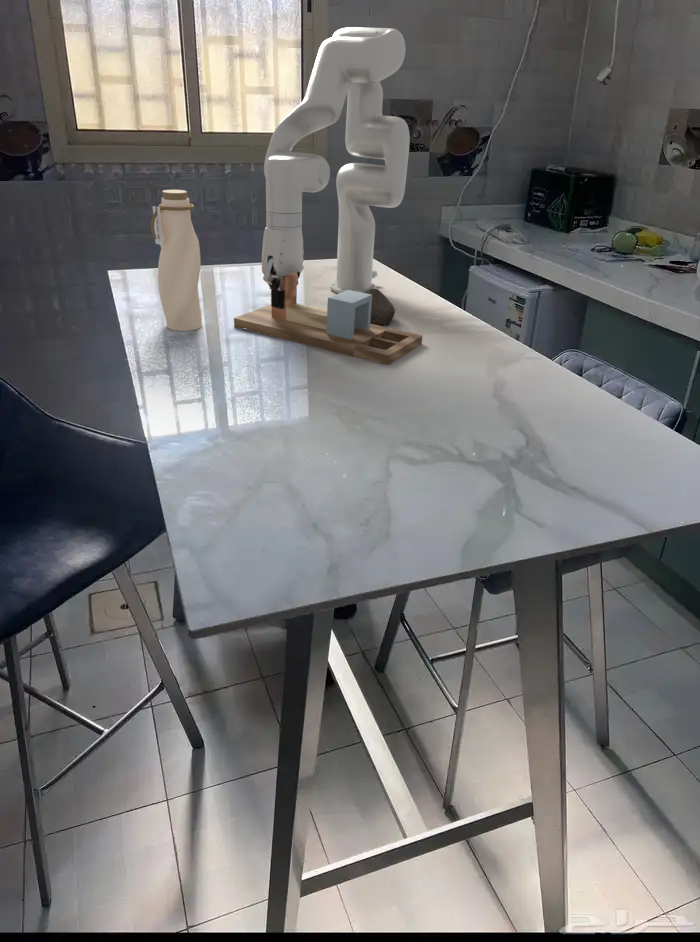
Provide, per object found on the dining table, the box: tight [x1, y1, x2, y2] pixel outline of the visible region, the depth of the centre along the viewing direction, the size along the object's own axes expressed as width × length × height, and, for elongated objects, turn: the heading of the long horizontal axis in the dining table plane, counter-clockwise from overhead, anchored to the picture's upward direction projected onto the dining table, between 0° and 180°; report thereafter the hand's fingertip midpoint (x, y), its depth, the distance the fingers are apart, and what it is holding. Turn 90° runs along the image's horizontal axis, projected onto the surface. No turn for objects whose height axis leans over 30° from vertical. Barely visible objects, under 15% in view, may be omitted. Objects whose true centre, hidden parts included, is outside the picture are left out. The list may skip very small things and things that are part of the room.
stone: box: [363, 288, 396, 327], centre depth 162 cm, size 10×8×10 cm
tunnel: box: [326, 290, 372, 339], centre depth 146 cm, size 8×6×8 cm
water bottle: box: [150, 189, 203, 332], centre depth 145 cm, size 10×9×28 cm
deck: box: [233, 304, 423, 366], centre depth 151 cm, size 16×39×2 cm, turn 60°
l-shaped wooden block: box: [272, 272, 327, 330], centre depth 150 cm, size 4×18×10 cm, turn 60°
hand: (283, 304), depth 154 cm, fingers closed on l-shaped wooden block, 4 cm apart
